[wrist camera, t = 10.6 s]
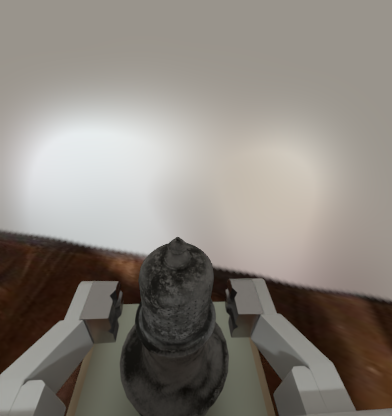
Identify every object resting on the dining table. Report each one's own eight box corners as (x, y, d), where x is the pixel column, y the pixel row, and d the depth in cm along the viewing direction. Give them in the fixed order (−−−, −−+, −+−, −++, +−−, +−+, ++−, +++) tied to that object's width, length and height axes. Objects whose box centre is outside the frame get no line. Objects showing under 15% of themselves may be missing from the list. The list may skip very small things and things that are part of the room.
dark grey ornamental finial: (239, 381, 14) (302, 247, 7) (164, 477, 11) (151, 395, 4) (181, 314, 18) (187, 179, 11) (110, 371, 14) (53, 228, 7)
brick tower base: (29, 607, 11) (-35, 644, 8) (104, 325, 23) (91, 288, 19) (298, 570, 12) (347, 587, 9) (240, 320, 24) (252, 285, 20)
